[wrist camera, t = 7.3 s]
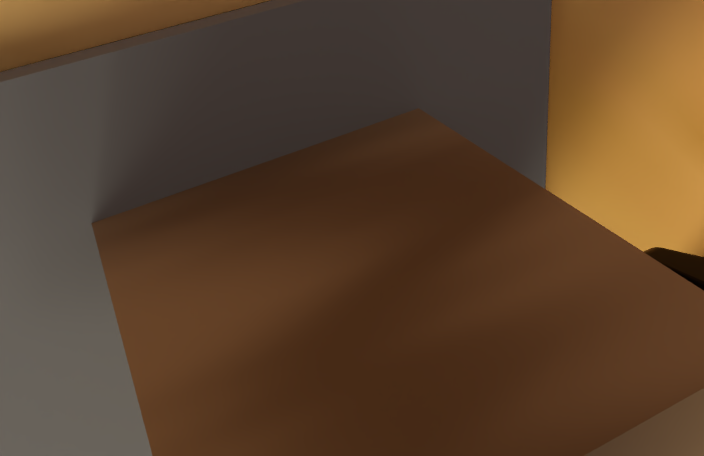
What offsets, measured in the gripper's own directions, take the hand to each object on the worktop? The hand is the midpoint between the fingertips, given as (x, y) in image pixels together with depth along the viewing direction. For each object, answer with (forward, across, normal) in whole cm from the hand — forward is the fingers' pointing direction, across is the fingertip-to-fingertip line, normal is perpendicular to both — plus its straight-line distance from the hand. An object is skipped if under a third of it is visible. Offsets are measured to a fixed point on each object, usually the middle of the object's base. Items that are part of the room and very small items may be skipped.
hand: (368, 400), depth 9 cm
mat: (+3, 0, 0) cm, 3 cm away
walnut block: (+3, 0, 0) cm, 3 cm away
